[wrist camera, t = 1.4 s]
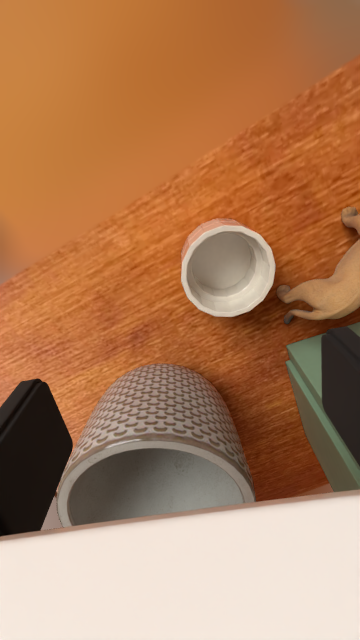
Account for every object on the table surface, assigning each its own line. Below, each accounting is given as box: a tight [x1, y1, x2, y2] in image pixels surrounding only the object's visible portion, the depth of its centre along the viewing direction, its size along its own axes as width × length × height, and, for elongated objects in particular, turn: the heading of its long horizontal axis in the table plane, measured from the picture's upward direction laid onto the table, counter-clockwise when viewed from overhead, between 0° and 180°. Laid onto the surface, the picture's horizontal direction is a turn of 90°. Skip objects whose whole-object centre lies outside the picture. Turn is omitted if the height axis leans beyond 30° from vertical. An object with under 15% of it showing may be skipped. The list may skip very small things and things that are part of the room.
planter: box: [56, 364, 256, 527], centre depth 27 cm, size 14×14×13 cm
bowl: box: [181, 219, 276, 317], centre depth 25 cm, size 7×7×5 cm
